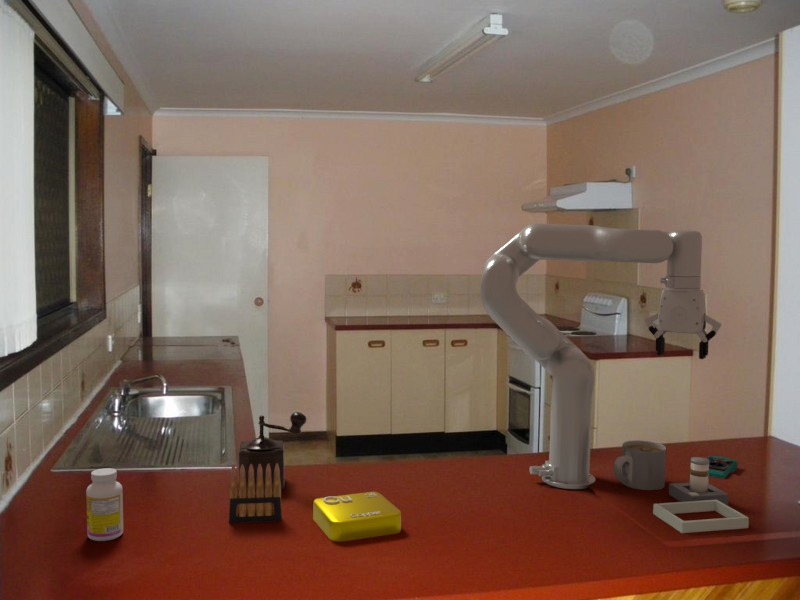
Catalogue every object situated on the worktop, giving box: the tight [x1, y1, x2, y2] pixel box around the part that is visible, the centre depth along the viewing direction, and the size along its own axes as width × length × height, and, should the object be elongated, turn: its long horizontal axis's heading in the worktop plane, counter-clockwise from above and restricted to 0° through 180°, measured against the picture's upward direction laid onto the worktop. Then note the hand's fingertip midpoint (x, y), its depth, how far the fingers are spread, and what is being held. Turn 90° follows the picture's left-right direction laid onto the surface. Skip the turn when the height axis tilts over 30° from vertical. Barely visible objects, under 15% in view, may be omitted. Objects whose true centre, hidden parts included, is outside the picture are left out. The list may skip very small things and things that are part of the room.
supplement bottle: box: [85, 467, 124, 542], centre depth 159 cm, size 7×7×13 cm
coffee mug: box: [613, 439, 667, 491], centre depth 193 cm, size 13×10×10 cm
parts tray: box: [652, 500, 750, 534], centre depth 170 cm, size 15×11×3 cm
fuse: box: [689, 456, 710, 493], centre depth 182 cm, size 4×4×9 cm
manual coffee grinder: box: [238, 411, 307, 493], centre depth 190 cm, size 16×11×18 cm
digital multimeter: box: [706, 455, 739, 479], centre depth 206 cm, size 7×15×3 cm, turn 146°
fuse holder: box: [668, 481, 730, 506], centre depth 182 cm, size 9×9×4 cm
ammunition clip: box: [228, 463, 283, 524], centre depth 168 cm, size 11×2×12 cm, turn 98°
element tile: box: [312, 491, 402, 542], centre depth 167 cm, size 15×15×5 cm
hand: (681, 356), depth 192 cm, fingers open, 9 cm apart
